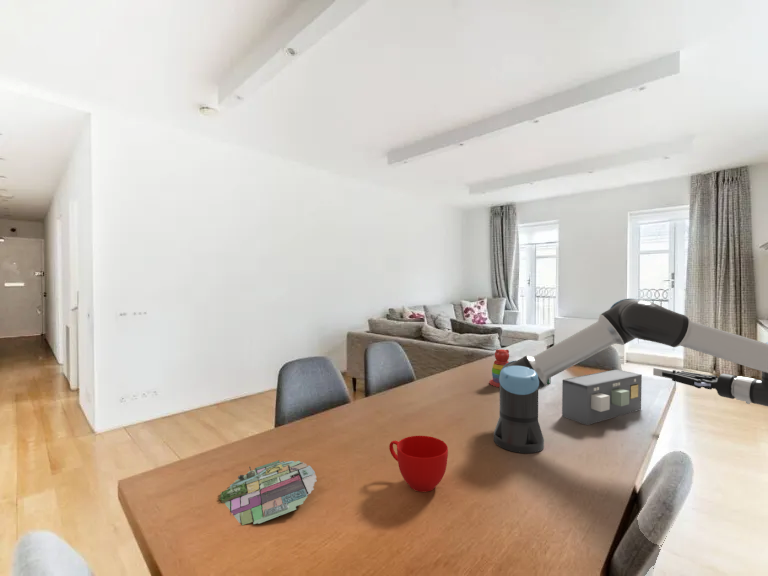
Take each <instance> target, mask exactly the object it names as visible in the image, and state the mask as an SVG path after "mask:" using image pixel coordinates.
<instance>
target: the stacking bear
mask: <svg viewBox="0 0 768 576" xmlns="http://www.w3.org/2000/svg"><path fill="white" fill-rule="evenodd" d="M509 353H510V351H509V349H502V348H500V349H495V352H494V358H495V360H494V361H493V364H492V369H491V376H492V379H490V380H489V384H490V385H491V386H492V385H493V386H492V387H495V386H496V388H498V387H500V382H499V376H500V372H501V370H502V368H503V367H504V366H505V365H506V364H507V363H509V362H510V361H509V359H510V354H509Z"/></svg>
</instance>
